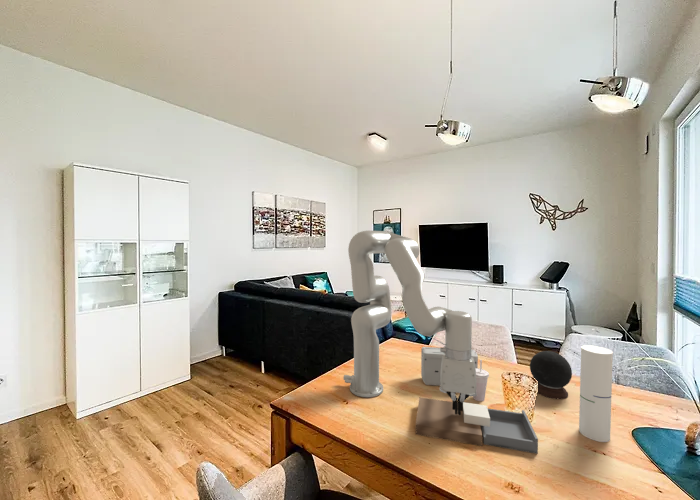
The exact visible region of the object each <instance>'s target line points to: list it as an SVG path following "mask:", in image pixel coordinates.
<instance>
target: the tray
mask: <svg viewBox="0 0 700 500" xmlns="http://www.w3.org/2000/svg"><path fill="white" fill-rule="evenodd" d="M487 409H488V412H489V416H490V427H488V426H482V425H480V426H481V431H482V444H483V445H484V446H490V447H491V446H492V447H498V448H503V449H509V450H515V451H520V452H526V453H531V454H536V455H537V454H538V453H539V451H538V450H539V449H538V448H539V438H538V436H537V434H536V432H535V430H534V428H533V426H532V424H531V422H530V421H531V420H530V419H529V418H528V416H527V414H526V411H525V410H524V409H522V410H521V412H516V411H508V410H501V409H495V408H488V407H487Z"/></svg>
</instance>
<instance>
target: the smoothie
mask: <svg viewBox="0 0 700 500" xmlns="http://www.w3.org/2000/svg"><path fill="white" fill-rule="evenodd" d="M479 362H480V363H479V368H476V393H477V396H472V398H473V399H474V400H475V401H478V402H484V401H485V398H486V393H487V385H488V379H489V377H490V374H489V372H488V371H487V370H485V369H484V368H483V366H482V365H483V360H482V359H479Z"/></svg>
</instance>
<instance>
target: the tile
mask: <svg viewBox="0 0 700 500" xmlns="http://www.w3.org/2000/svg"><path fill="white" fill-rule="evenodd" d="M487 408H488V405H484V404H478V403H471V402H465V401H464V402H463V418H464V423H470V424H476V425H482V426H488V427H490V416H489V412H488V409H487Z"/></svg>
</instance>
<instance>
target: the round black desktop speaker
mask: <svg viewBox="0 0 700 500" xmlns="http://www.w3.org/2000/svg"><path fill="white" fill-rule="evenodd" d="M529 371H530V374H531V375H532V377H533V379H534V378H535V379H536V380H537V381H538V393H537V395H540V396H543V397H545V398H548V399H551V400H552V399H553V400H566V399H567V398H568V397H569V392H568V391H567V389H566V388H565V387H566V386H567V385H568V384H569V383H570V382H571V380H572V377H573V370H572V366H571V365H570V363H569V361H568V360H567V359H566V358H565V357H564V356H563V355H562V354H559V353H557V352H555V351H551V350H542V351H539V352H537V353H535V354H534V355H533V356H532V357H531V359H530V361H529ZM535 379H534V380H535ZM536 380H535V381H536ZM537 381H536V382H537Z"/></svg>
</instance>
